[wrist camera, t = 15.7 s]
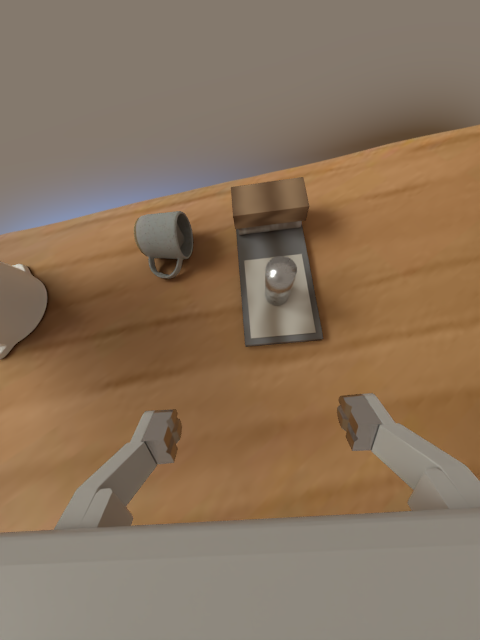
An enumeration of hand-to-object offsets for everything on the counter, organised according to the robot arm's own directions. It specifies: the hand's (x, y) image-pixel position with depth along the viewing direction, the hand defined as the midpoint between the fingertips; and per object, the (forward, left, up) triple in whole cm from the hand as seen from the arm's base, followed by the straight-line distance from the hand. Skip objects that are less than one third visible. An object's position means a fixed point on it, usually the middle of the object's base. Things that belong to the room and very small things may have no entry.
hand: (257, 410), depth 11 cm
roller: (+4, +15, -21) cm, 26 cm away
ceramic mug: (-14, +26, -23) cm, 38 cm away
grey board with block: (+4, +20, -23) cm, 31 cm away
